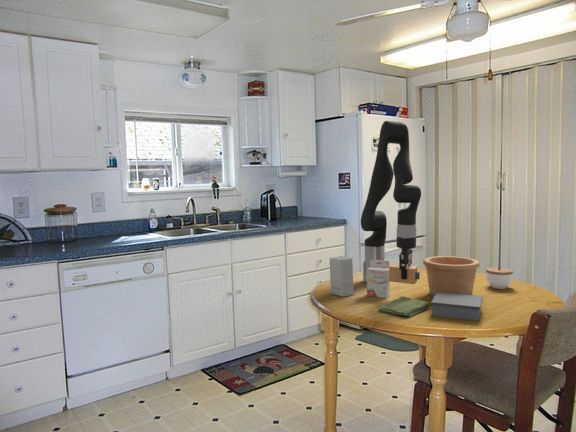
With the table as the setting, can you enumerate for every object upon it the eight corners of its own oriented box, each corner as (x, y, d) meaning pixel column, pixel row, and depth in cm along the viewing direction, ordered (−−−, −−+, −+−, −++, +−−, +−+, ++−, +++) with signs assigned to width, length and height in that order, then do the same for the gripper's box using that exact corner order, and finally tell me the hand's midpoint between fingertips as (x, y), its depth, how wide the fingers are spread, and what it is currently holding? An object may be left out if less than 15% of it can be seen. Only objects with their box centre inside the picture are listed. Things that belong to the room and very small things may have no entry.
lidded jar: (486, 289, 198) (486, 267, 197) (485, 283, 207) (485, 263, 207) (513, 291, 194) (514, 269, 193) (511, 285, 203) (512, 264, 203)
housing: (388, 281, 182) (389, 266, 182) (392, 278, 187) (392, 264, 186) (417, 284, 177) (418, 269, 177) (420, 281, 182) (420, 266, 182)
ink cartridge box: (366, 296, 189) (366, 261, 188) (369, 293, 193) (369, 259, 192) (387, 298, 185) (387, 262, 184) (389, 295, 190) (390, 260, 189)
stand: (430, 316, 161) (431, 302, 161) (437, 304, 175) (437, 291, 175) (480, 321, 154) (480, 307, 154) (482, 308, 169) (482, 295, 168)
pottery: (484, 302, 177) (485, 266, 175) (425, 300, 181) (425, 265, 180) (473, 289, 198) (473, 256, 197) (420, 287, 202) (420, 255, 201)
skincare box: (353, 295, 191) (353, 258, 190) (341, 297, 188) (341, 260, 187) (341, 291, 198) (341, 255, 197) (329, 293, 195) (329, 257, 194)
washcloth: (376, 312, 168) (376, 304, 167) (401, 302, 180) (401, 294, 180) (408, 320, 159) (408, 311, 158) (432, 309, 171) (432, 300, 171)
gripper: (400, 232, 188) (400, 273, 190) (392, 237, 175) (391, 280, 177) (419, 233, 185) (418, 274, 187) (412, 238, 172) (411, 282, 174)
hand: (405, 277), depth 182 cm, fingers closed on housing, 5 cm apart
